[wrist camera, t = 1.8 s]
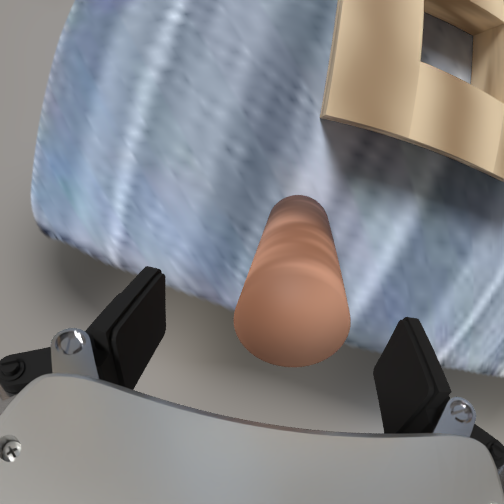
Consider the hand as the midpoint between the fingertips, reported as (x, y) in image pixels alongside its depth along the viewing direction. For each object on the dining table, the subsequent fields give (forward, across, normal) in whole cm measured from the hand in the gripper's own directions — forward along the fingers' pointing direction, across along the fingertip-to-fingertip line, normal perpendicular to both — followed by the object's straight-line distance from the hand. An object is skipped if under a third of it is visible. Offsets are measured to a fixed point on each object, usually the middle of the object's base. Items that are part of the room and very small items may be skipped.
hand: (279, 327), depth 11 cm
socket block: (+12, -9, -16) cm, 22 cm away
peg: (+12, -1, 0) cm, 12 cm away
